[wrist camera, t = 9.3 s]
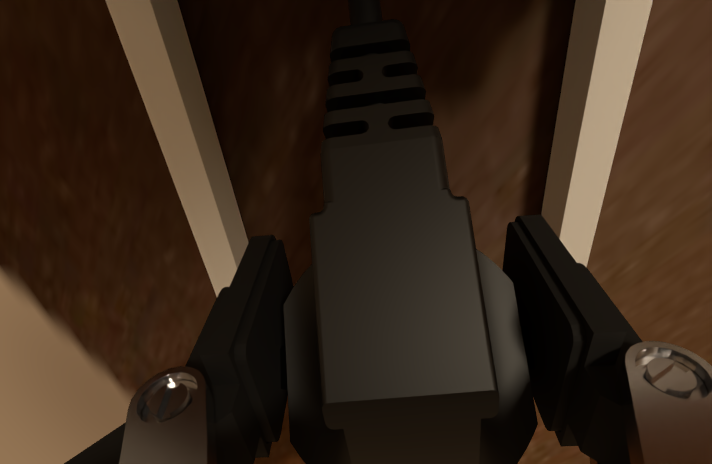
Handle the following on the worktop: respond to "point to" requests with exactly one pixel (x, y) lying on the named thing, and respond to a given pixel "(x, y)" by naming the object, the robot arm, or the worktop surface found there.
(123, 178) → the worktop surface
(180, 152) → the cable organizer
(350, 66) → the power plug
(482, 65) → the worktop surface
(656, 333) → the worktop surface
